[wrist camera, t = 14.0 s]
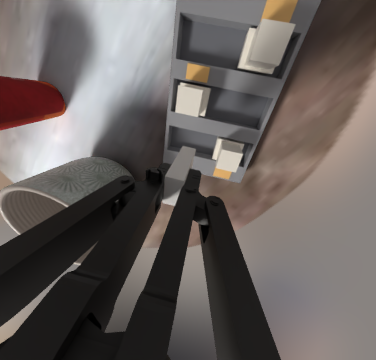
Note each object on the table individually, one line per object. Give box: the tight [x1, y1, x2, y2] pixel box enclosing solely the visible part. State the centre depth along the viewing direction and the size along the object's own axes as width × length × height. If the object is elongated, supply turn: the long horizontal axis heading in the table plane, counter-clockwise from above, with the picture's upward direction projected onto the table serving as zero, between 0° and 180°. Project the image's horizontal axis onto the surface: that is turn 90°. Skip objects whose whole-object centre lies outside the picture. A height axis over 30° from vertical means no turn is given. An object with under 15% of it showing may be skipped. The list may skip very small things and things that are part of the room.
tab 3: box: [237, 19, 296, 75], centre depth 16 cm, size 3×4×6 cm
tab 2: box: [212, 136, 244, 173], centre depth 22 cm, size 3×4×6 cm
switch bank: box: [163, 0, 321, 183], centre depth 21 cm, size 22×14×3 cm, turn 170°
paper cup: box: [0, 76, 66, 130], centre depth 21 cm, size 8×8×14 cm
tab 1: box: [175, 83, 211, 117], centre depth 19 cm, size 3×4×6 cm
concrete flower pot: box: [0, 157, 133, 265], centre depth 28 cm, size 17×17×15 cm
